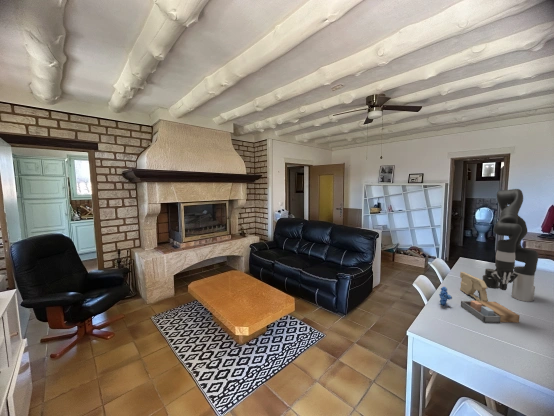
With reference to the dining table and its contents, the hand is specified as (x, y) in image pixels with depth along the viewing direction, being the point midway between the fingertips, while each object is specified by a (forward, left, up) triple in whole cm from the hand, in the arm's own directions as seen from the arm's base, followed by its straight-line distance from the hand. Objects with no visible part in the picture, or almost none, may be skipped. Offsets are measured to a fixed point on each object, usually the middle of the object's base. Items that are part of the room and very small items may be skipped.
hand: (502, 289), depth 127 cm
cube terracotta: (+6, -7, -14) cm, 16 cm away
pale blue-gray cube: (+6, 0, -14) cm, 15 cm away
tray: (+9, -4, -17) cm, 19 cm away
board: (-1, -4, -17) cm, 17 cm away
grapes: (+22, -13, -17) cm, 30 cm away
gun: (-3, -25, -17) cm, 30 cm away
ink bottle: (-30, -44, -17) cm, 56 cm away
